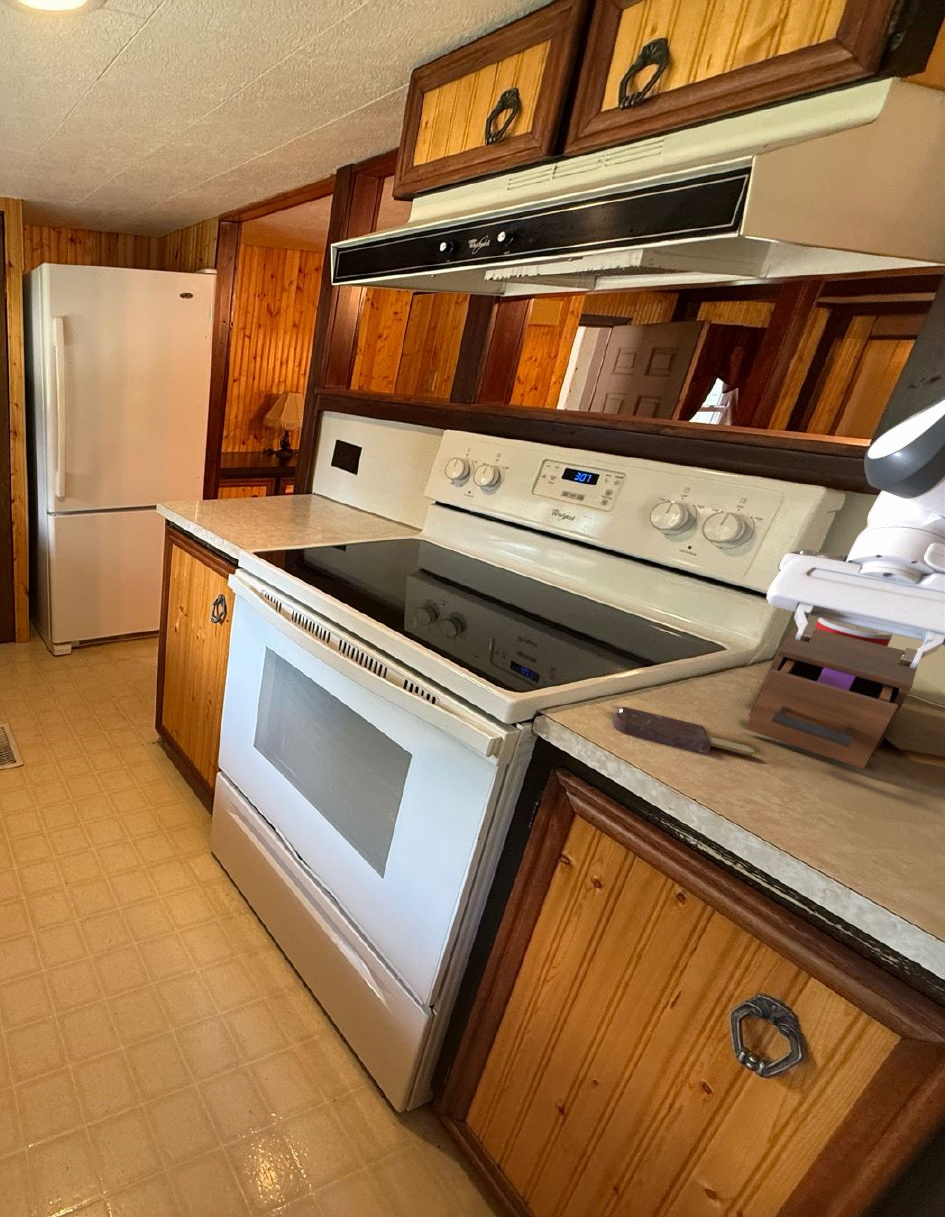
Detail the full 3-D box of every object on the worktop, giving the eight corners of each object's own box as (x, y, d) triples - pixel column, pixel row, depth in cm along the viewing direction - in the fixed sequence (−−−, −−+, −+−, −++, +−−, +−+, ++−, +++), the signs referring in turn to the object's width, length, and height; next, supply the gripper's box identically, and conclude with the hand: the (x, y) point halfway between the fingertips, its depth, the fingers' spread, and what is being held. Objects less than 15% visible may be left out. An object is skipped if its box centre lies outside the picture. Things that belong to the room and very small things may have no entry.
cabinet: (873, 756, 85) (912, 685, 81) (748, 715, 94) (778, 649, 90) (884, 719, 95) (920, 654, 91) (770, 685, 104) (797, 624, 100)
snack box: (849, 686, 88) (827, 731, 87) (818, 677, 90) (797, 721, 89) (856, 675, 85) (833, 722, 84) (824, 667, 87) (801, 712, 86)
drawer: (859, 783, 78) (893, 719, 75) (737, 739, 86) (763, 681, 83) (875, 731, 90) (906, 674, 86) (766, 697, 98) (790, 644, 94)
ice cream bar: (746, 747, 86) (610, 713, 93) (750, 737, 86) (614, 703, 93) (755, 767, 82) (613, 730, 89) (761, 756, 82) (616, 720, 89)
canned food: (858, 705, 98) (893, 639, 94) (787, 685, 104) (817, 621, 100) (861, 690, 103) (894, 626, 99) (793, 671, 109) (821, 610, 105)
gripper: (791, 534, 91) (749, 614, 89) (1027, 572, 76) (984, 669, 74) (784, 559, 95) (745, 636, 93) (1006, 599, 81) (965, 692, 78)
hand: (853, 651), depth 84 cm, fingers open, 8 cm apart
